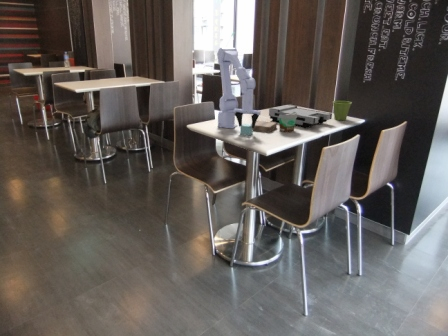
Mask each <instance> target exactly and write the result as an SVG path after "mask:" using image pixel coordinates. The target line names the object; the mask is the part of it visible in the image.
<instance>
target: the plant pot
mask: <svg viewBox="0 0 448 336" xmlns="http://www.w3.org/2000/svg"><path fill="white" fill-rule="evenodd" d="M352 103H353V102H352V101H347V100H334V101H332V106H333V117H334V120H337V121H347V120H346V119H348V118H347V117H348V114H349V110H350V108H351V105H352Z"/></svg>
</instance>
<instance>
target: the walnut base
mask: <svg viewBox="0 0 448 336" xmlns="http://www.w3.org/2000/svg"><path fill="white" fill-rule="evenodd" d="M250 124H251V125H252V123H250ZM277 125H278V122H273V121H266V120H265V121H264V120H257V121H256V123H255V127H254V128H253V131H255V132H256V131H257V132H263V133H271V132H272V131H274V130H275V129H277Z"/></svg>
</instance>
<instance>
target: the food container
mask: <svg viewBox="0 0 448 336" xmlns="http://www.w3.org/2000/svg"><path fill="white" fill-rule="evenodd" d="M296 118H297V113H296V112H293V113H292V114H285V115H283V114H279V124H278V125H279V132H280V133H293V132H294V131H295V129H296V128H295V127H296V126H295V122H296Z"/></svg>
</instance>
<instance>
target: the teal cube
mask: <svg viewBox="0 0 448 336" xmlns="http://www.w3.org/2000/svg"><path fill="white" fill-rule="evenodd" d="M251 124H252V123H242V125H241V126H240V135H243V136H250V135H253V131H254V130H253V128H252V125H251Z"/></svg>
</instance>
